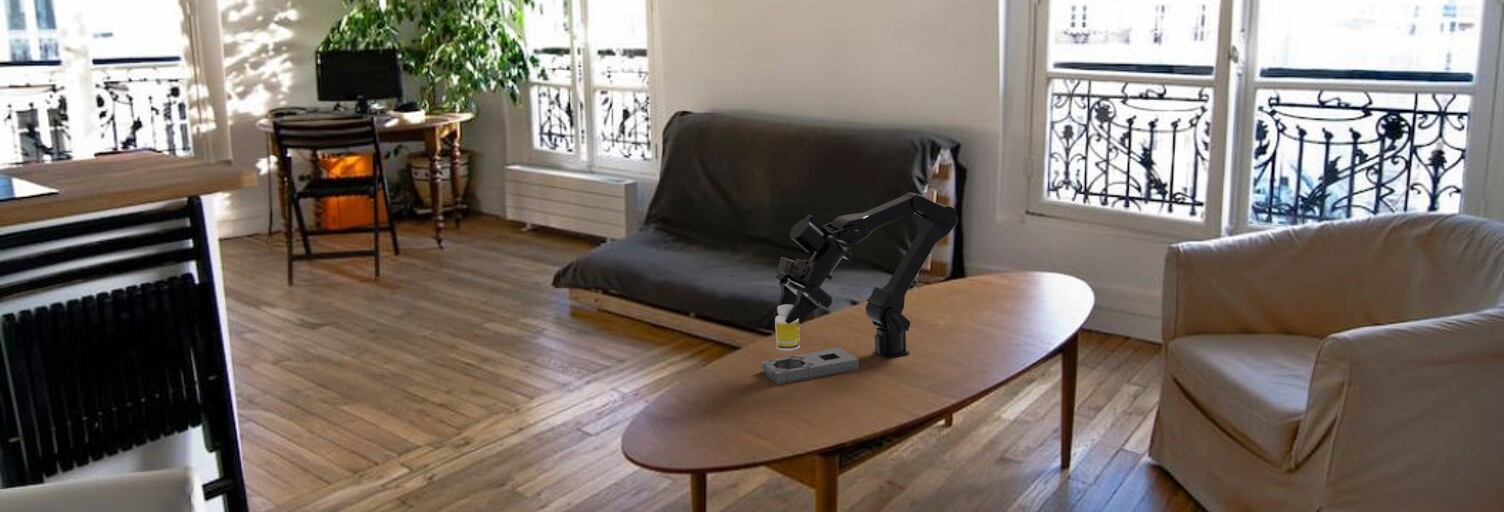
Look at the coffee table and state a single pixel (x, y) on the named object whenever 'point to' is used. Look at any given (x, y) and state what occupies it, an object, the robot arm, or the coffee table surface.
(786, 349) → the supplement bottle
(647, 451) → the coffee table surface
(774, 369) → the socket plate
